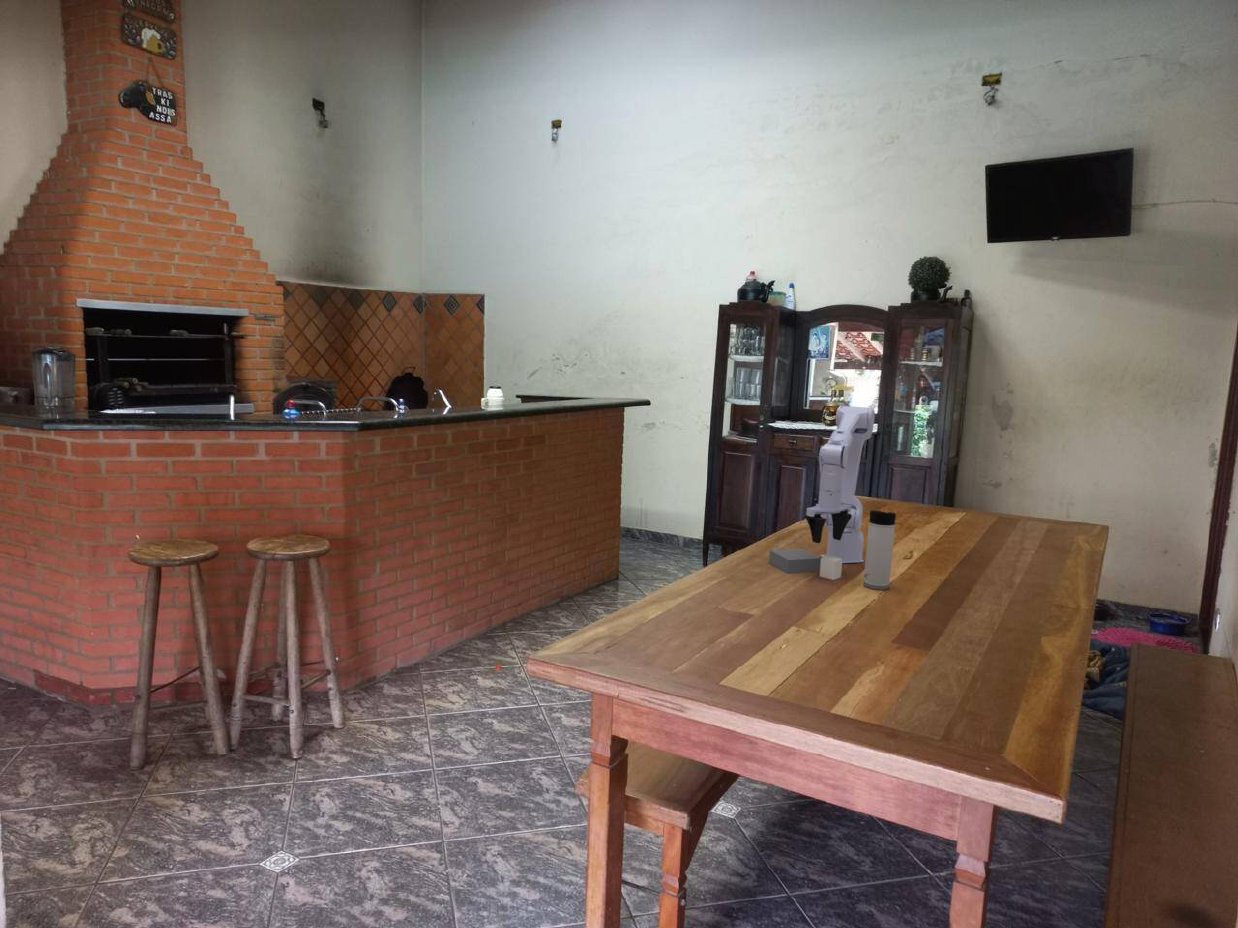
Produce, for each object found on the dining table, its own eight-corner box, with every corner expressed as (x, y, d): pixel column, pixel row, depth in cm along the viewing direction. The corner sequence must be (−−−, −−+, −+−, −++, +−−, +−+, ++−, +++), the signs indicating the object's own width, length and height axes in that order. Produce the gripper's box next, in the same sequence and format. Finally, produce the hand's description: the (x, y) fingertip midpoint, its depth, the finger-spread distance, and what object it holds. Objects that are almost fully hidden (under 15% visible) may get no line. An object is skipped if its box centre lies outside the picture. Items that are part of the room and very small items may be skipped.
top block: (840, 577, 205) (842, 558, 204) (833, 579, 202) (834, 561, 201) (827, 573, 208) (828, 555, 207) (819, 576, 205) (820, 558, 204)
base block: (800, 562, 219) (801, 548, 218) (819, 572, 210) (821, 558, 209) (768, 563, 216) (769, 550, 215) (787, 574, 206) (788, 559, 206)
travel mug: (860, 587, 196) (867, 510, 193) (865, 581, 202) (872, 506, 199) (886, 592, 193) (894, 513, 190) (890, 585, 199) (898, 509, 196)
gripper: (838, 485, 209) (834, 534, 211) (799, 489, 201) (795, 540, 203) (859, 490, 203) (854, 540, 205) (819, 494, 195) (815, 546, 198)
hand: (826, 540), depth 204 cm, fingers open, 7 cm apart
